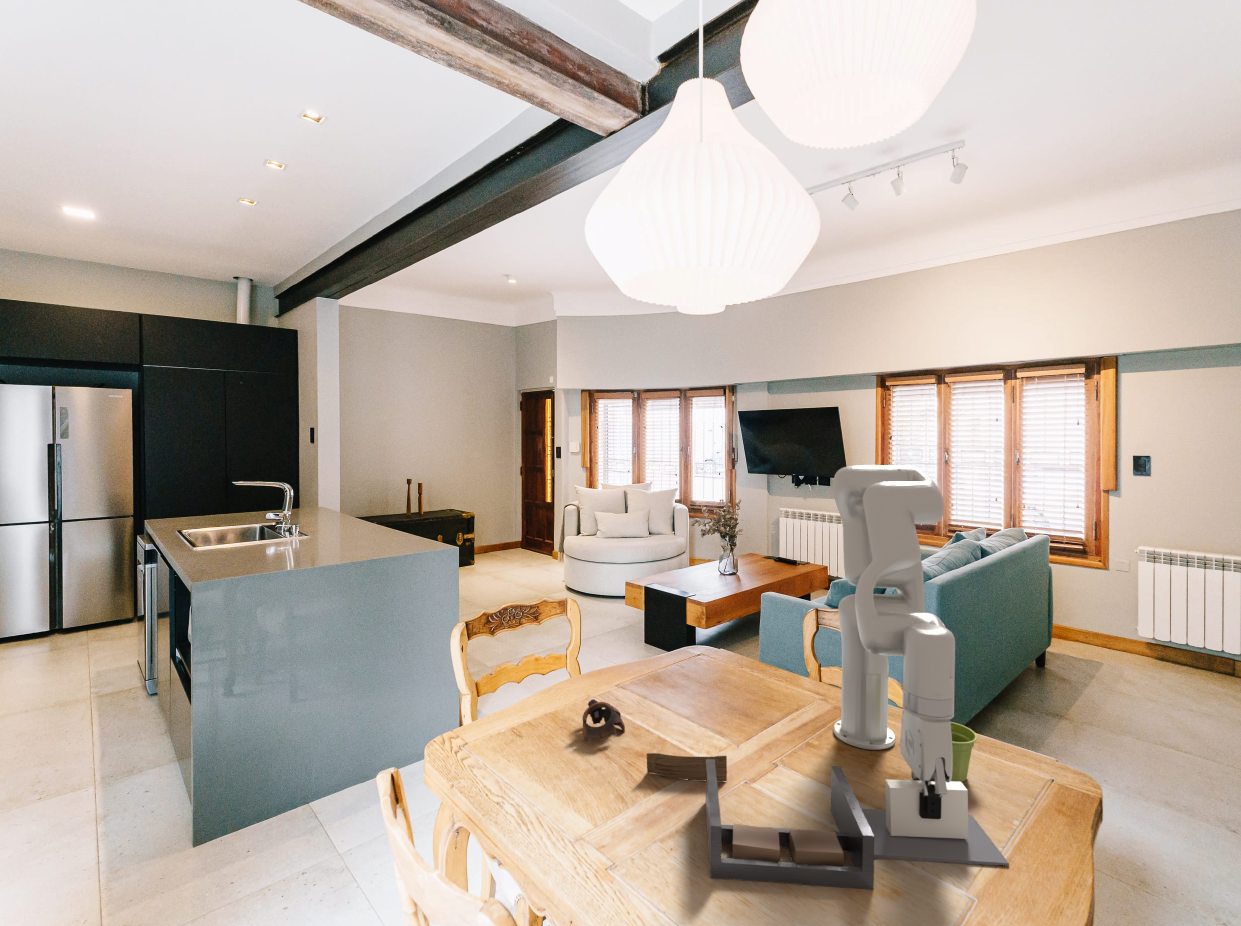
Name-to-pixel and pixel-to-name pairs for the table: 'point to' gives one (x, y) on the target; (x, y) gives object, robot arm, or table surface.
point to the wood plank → (685, 766)
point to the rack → (851, 837)
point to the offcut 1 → (755, 843)
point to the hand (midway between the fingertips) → (926, 810)
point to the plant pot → (961, 750)
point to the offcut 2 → (815, 847)
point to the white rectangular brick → (906, 811)
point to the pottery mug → (597, 714)
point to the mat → (933, 844)
